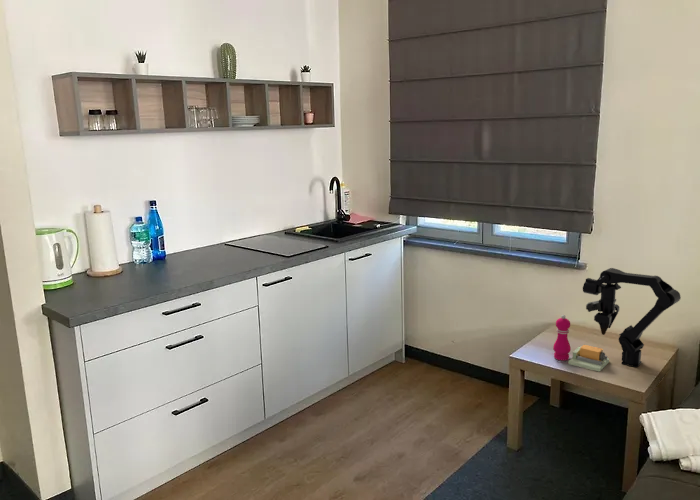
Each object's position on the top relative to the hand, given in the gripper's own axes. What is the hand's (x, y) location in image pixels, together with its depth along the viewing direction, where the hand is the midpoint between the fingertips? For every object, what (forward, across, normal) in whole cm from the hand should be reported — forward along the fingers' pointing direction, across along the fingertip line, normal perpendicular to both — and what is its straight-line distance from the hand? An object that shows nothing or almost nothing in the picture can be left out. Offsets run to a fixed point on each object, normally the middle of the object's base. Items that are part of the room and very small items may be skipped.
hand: (605, 331), depth 256 cm
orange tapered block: (+10, +10, -3) cm, 15 cm away
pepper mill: (+12, +12, -15) cm, 23 cm away
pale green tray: (+12, +11, -4) cm, 16 cm away
